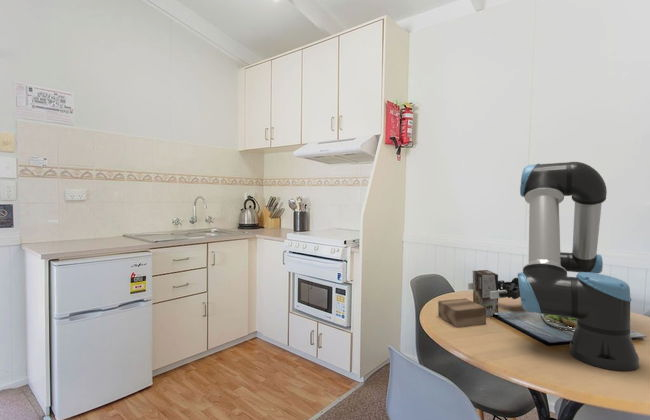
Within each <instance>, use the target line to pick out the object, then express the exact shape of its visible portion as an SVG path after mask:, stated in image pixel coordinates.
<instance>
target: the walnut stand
mask: <svg viewBox="0 0 650 420" xmlns="http://www.w3.org/2000/svg"><path fill="white" fill-rule="evenodd" d="M437 305H438V307H437V310H438V317H439V318H440V319H442V320H444V321H445V322H447V323H449V324H450V325H452V326H453V327H455V328H462V327H472V326H479V325H480V326H482V325H486V324H487V316H486V307H483V306H481V305H479V304H477V303H475V302H473V300H470V299H468V298H457V299H446V300H438V301H437Z"/></svg>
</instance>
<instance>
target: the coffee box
mask: <svg viewBox="0 0 650 420" xmlns="http://www.w3.org/2000/svg"><path fill="white" fill-rule="evenodd" d="M498 281H499V274H498V273H495V272H493V271H490V270H488V269H483V270H482V269H480V270H472V282H473V289H472V298H473V300H472V301H473V302H475V303H477V304H479V305H481V306H483V307H486V317H494V316H493V314H495V313H498V314H499V298H496V299H490V291H499V289H498Z"/></svg>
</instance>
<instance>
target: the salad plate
mask: <svg viewBox="0 0 650 420" xmlns="http://www.w3.org/2000/svg"><path fill="white" fill-rule="evenodd" d="M540 318H541V319H542V320H543V321H544V323H546V324H548V325H549V326H550V325H551V327H552V326H554V327H553V328H555V327H557V328H556V329H558V328H561V329H567V330H576V328H577V318H572V317H564V316H556V315H549V314H540ZM547 320H550V321H549V322H548V321H547ZM551 321H554V322H551ZM555 322H559V323H558V324H560V323H563V324H565V325H566V326H569V327H572V328H569V327H566V326H565V325H563V324H562V325H563V326H561V325H558V324H556V323H555ZM561 329H560V330H561ZM567 330H566V331H567Z"/></svg>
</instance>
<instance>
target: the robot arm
mask: <svg viewBox="0 0 650 420" xmlns="http://www.w3.org/2000/svg"><path fill="white" fill-rule="evenodd" d="M519 194H520V197H522V198H524V200H525V202H526V203H527V204H528V205H529V211H528V214H529V215H528V218H529V220H528V225H529V226H528V263H526V265H524V266H523V268H522V271H521V272H518V273H517V277H513V279H511V281H505V280H503V279H502V280H498V291H490V299H496V298H498V299H505V298H508V299H513V300H517V299H519V298H520V303H521V308H522V309H523V310H524V311H527V312H529V313H530V312H531V313H536V314H538V315H541V314H549V315H556V316H564V317H572V318H577V328H576V330H575V331H574V332H573V336H572V338H571V341H570V343H569V352H570V354H571V356H573V357H574V358H575V359H577V360H579V361H581V362H583V363H586V364H588V365H591V366H594V367H596V368H597V367H598V368H600V369H601V368H602V369H607V370H612V371H634V370H636V369H638V368H639V366H640V357H639V355H638V352H637V350H636V348H635V345H634V342H633V339H632V336H631V302H632V298H631V288H630V285H629V284H628V283H627V282H625V281H624V280H622V279H619V278H617V277H613V276H610V275H605V274H601V273H602V272H603V268H604V267H603V265H604V263H603V257H602V255H601V254H598V253H597V252H598V243H599V233H600V225H601V223H600V222H601V213H602V203H604V202H606V199H607V186H606V182H605V180H604V178H603V177H602V175H601V173H599V172H598V171H597V170H596V169H595V168H594V167H592V166H591V165H589V164H586V163H584V162H580V161H569V162H554V163H536V164H528V165H526V166H525V167H524V168H523V170H522V173H521V179H520V186H519ZM565 197H571V200H572V201H573V202H574V210H573V211H574V213H573V214H574V215H573V230H572V232H573V234H572V252H562V251H561V232H560V204H561V203H562V202H563V201H564V199H565ZM568 272H571V273H577V274H576V276H568ZM467 290H470V291H471V290H472V291H473V281H472V282H468V283H467Z"/></svg>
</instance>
